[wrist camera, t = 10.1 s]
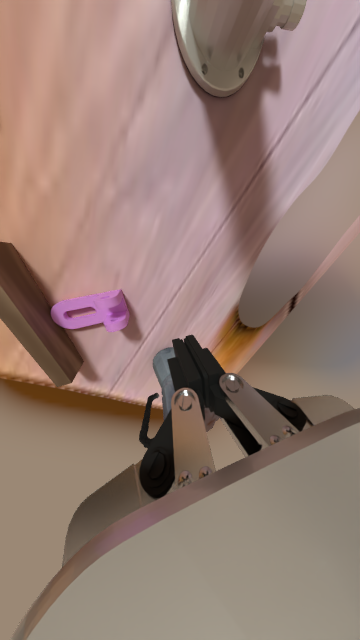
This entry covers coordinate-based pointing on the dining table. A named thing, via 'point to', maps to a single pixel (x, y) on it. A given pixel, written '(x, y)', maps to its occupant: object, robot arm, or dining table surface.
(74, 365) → the walnut board
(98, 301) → the bracket
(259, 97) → the dining table surface
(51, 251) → the dining table surface
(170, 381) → the moka pot
